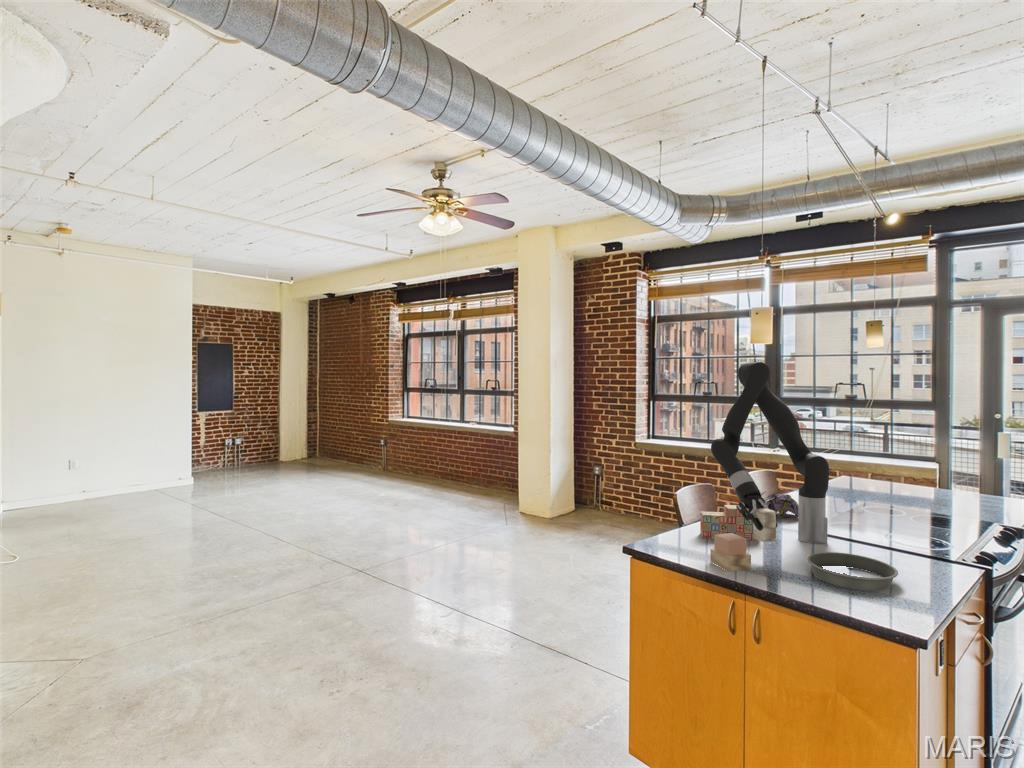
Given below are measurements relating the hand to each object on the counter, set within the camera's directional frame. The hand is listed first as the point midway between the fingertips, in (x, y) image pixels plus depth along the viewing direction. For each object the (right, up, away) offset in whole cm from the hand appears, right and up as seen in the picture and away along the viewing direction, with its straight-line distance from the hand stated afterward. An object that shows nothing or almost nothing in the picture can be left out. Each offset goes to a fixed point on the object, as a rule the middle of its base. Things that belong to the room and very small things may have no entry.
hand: (768, 528), depth 190 cm
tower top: (-14, -7, -2) cm, 16 cm away
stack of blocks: (-1, -12, +31) cm, 33 cm away
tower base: (-14, -12, -2) cm, 18 cm away
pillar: (0, -4, +2) cm, 5 cm away
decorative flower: (+36, -11, +63) cm, 73 cm away
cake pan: (+20, -13, -13) cm, 27 cm away
